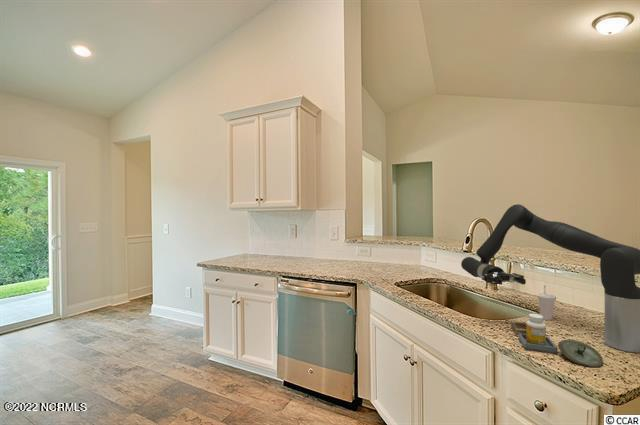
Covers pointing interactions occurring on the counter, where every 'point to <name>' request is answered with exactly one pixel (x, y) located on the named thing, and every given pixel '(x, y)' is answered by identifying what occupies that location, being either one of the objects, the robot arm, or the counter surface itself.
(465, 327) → the counter surface
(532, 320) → the supplement bottle
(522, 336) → the tray
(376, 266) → the counter surface
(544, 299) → the smoothie
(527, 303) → the counter surface
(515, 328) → the collar block
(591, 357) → the lid
